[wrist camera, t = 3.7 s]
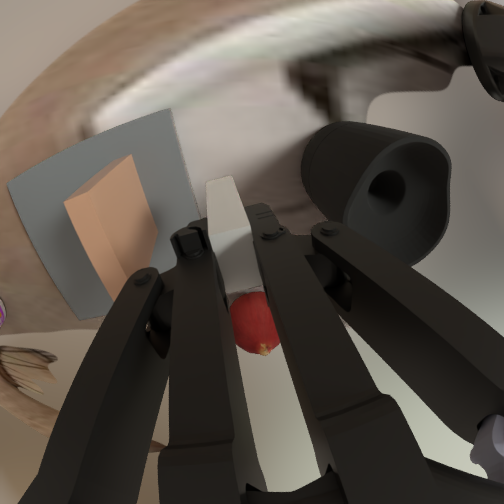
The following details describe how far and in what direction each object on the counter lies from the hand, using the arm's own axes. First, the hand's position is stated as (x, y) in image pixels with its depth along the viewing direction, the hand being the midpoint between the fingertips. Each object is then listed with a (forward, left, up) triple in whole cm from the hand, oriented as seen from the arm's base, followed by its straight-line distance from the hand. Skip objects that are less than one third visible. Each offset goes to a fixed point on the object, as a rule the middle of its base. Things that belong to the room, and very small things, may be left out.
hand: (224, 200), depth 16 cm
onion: (0, +14, -8) cm, 16 cm away
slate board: (+11, +3, -7) cm, 13 cm away
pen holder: (-11, +2, -8) cm, 14 cm away
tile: (+7, 0, -6) cm, 9 cm away
